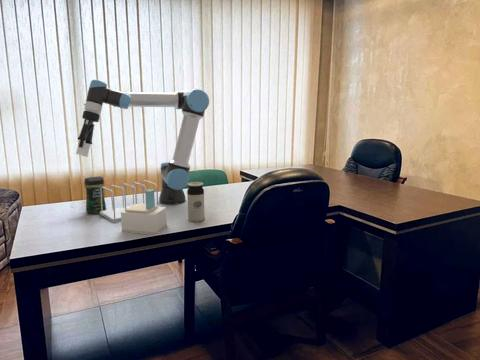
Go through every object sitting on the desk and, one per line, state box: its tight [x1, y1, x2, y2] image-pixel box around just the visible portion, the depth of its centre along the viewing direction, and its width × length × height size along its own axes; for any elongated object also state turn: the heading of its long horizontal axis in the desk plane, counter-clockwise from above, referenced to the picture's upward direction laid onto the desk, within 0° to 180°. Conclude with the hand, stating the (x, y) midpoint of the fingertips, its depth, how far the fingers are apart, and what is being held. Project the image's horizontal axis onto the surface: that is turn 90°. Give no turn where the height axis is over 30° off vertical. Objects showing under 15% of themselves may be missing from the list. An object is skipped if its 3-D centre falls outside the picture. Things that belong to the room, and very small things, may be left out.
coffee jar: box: [83, 176, 107, 214], centre depth 196 cm, size 10×8×19 cm
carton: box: [120, 206, 168, 236], centre depth 169 cm, size 16×12×9 cm
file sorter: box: [99, 179, 159, 223], centre depth 192 cm, size 25×17×16 cm
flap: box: [125, 188, 159, 213], centre depth 167 cm, size 11×10×9 cm
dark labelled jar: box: [186, 181, 205, 223], centre depth 182 cm, size 8×8×18 cm
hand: (81, 155), depth 179 cm, fingers open, 13 cm apart
